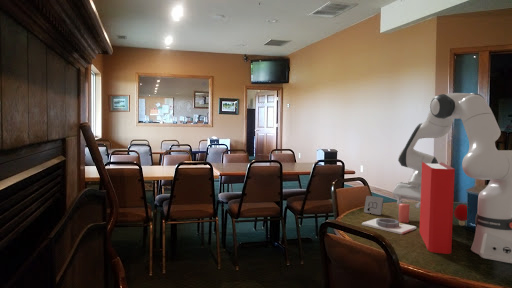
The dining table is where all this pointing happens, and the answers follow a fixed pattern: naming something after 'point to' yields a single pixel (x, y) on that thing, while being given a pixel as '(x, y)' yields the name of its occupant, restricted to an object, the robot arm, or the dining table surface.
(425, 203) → the book
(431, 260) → the dining table surface
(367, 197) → the electrical switch
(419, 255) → the dining table surface
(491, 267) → the dining table surface
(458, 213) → the red mushroom
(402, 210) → the lockout cap
